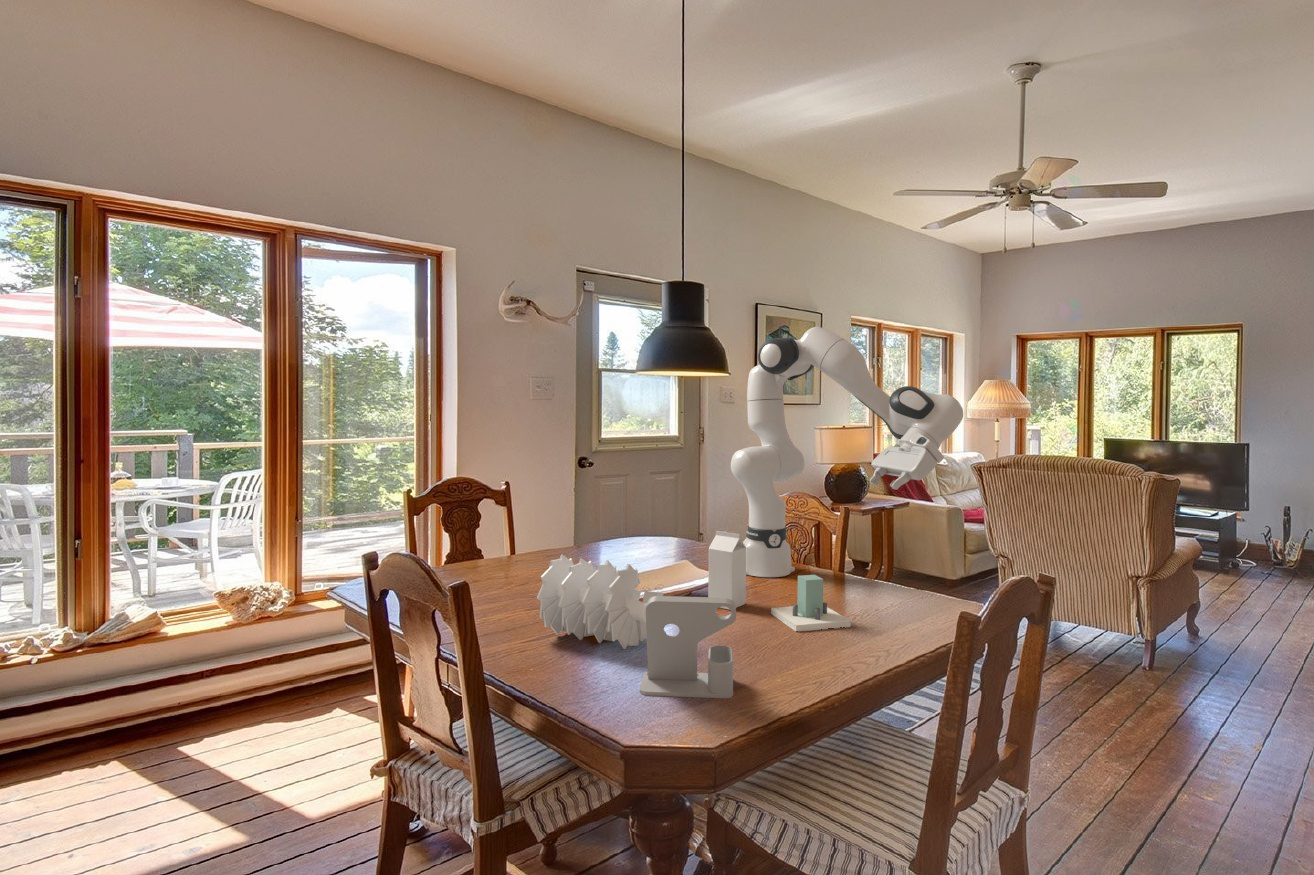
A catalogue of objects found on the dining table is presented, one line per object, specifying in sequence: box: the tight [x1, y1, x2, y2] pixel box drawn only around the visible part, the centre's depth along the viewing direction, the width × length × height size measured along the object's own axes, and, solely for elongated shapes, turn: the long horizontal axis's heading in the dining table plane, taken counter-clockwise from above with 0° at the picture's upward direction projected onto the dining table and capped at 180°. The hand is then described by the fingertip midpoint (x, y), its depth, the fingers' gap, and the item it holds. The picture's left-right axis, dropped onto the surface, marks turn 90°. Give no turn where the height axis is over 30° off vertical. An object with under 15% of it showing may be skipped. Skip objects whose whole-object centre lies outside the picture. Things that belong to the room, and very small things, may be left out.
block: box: [796, 574, 824, 618], centre depth 176 cm, size 4×4×9 cm
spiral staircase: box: [536, 553, 664, 650], centre depth 161 cm, size 18×18×25 cm
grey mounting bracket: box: [639, 595, 737, 699], centre depth 135 cm, size 17×10×18 cm, turn 85°
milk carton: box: [707, 530, 747, 611], centre depth 188 cm, size 7×7×19 cm
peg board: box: [770, 601, 852, 632], centre depth 176 cm, size 14×14×4 cm
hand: (882, 485), depth 187 cm, fingers open, 8 cm apart
